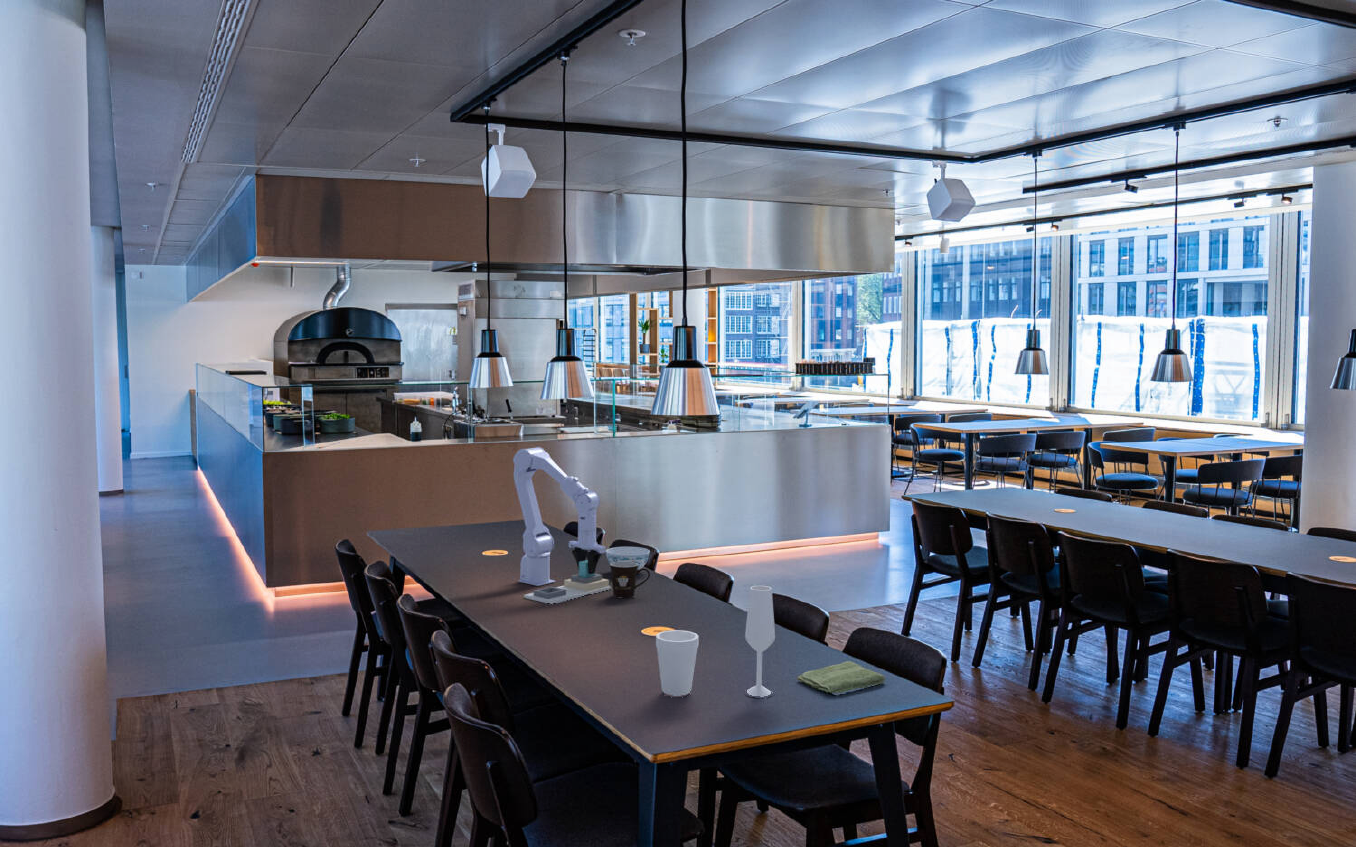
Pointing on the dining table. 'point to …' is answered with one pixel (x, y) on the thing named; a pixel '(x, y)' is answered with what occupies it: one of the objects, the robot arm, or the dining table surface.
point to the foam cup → (676, 660)
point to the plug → (584, 569)
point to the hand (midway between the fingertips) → (586, 572)
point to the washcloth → (841, 677)
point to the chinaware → (628, 555)
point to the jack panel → (570, 589)
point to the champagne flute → (760, 630)
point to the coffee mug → (625, 578)
